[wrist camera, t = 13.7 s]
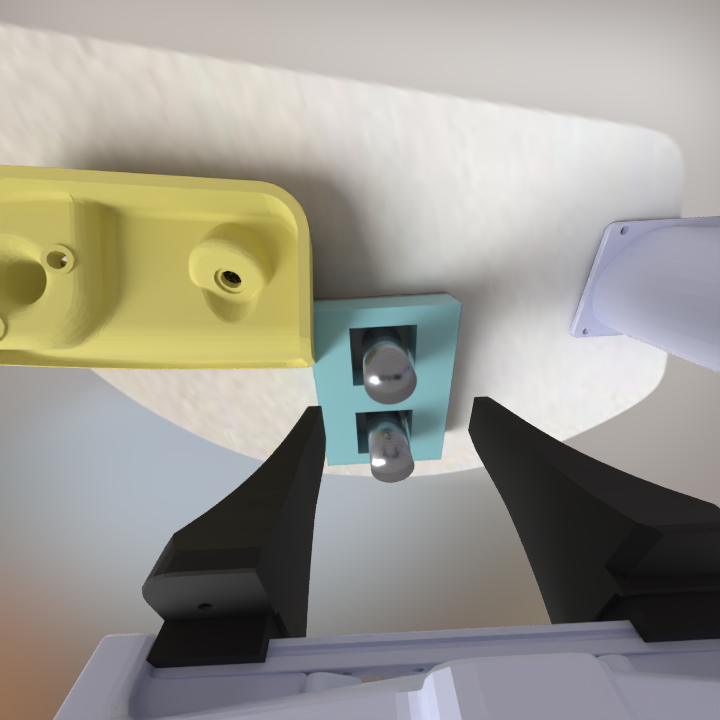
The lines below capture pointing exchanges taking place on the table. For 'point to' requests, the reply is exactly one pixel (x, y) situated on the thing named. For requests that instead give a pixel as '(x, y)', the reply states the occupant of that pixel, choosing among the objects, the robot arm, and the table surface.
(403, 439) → the peg
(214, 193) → the plastic component
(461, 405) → the table surface
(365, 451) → the housing
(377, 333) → the peg
